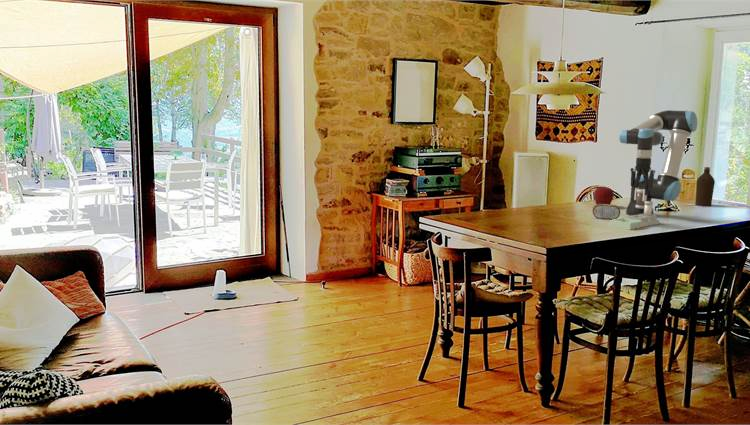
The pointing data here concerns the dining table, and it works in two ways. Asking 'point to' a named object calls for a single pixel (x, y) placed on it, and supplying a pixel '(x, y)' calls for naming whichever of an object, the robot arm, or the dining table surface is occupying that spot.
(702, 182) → the olive oil
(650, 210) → the fuse
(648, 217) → the fuse holder
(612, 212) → the tin
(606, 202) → the apple
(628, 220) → the parts tray
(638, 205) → the fuse
